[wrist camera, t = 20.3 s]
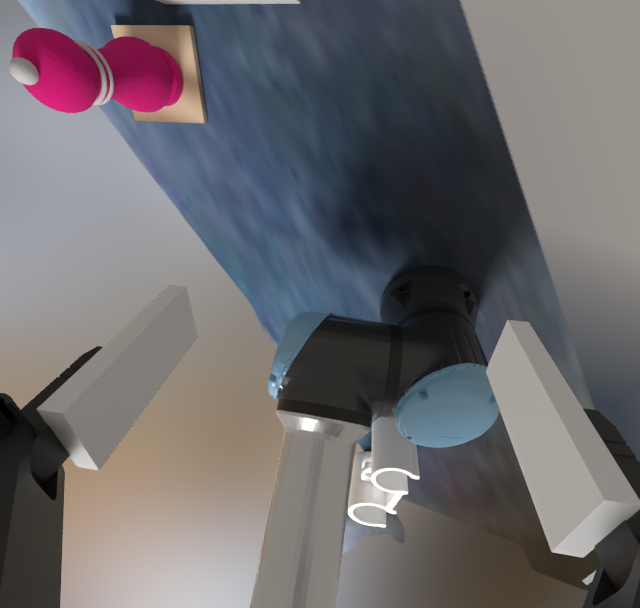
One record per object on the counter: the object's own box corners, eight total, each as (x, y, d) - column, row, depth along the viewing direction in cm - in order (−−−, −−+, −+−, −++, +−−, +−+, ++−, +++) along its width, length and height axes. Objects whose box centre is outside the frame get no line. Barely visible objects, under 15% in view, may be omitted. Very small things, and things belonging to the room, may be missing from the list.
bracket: (376, 409, 71) (375, 462, 61) (419, 421, 71) (425, 475, 61) (347, 468, 85) (342, 518, 75) (383, 478, 85) (383, 530, 75)
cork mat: (207, 122, 44) (204, 123, 44) (139, 119, 46) (135, 120, 45) (193, 26, 39) (189, 25, 38) (116, 26, 40) (110, 25, 39)
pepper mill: (171, 123, 44) (46, 145, 28) (123, 79, 42) (-42, 73, 26) (197, 75, 41) (72, 67, 24) (147, 24, 39) (-27, -22, 22)
